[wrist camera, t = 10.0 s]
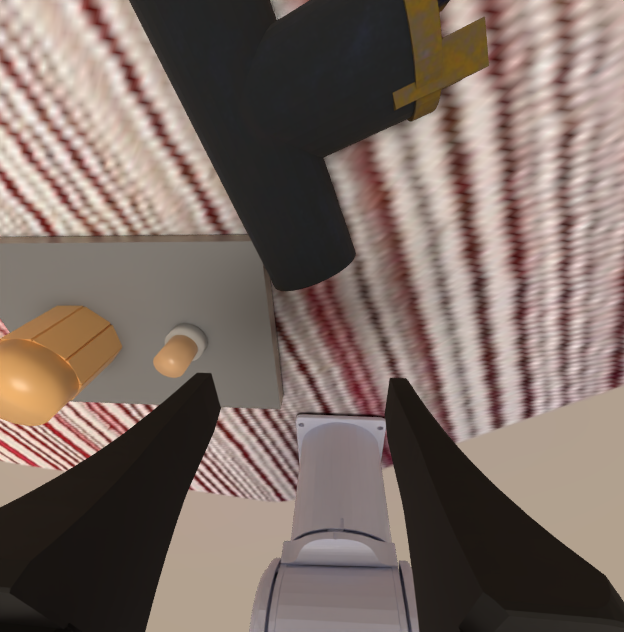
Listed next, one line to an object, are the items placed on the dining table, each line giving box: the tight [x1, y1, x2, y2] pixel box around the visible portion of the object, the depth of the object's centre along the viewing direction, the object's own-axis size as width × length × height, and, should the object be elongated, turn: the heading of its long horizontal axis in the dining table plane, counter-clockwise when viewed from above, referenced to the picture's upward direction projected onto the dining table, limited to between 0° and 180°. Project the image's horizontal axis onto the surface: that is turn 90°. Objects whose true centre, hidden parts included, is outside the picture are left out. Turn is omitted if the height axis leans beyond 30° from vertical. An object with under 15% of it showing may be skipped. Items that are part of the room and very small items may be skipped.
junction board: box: [0, 234, 283, 409], centre depth 20 cm, size 14×20×4 cm
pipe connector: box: [129, 0, 489, 291], centre depth 12 cm, size 12×5×15 cm
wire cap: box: [0, 306, 122, 426], centre depth 19 cm, size 5×5×6 cm
